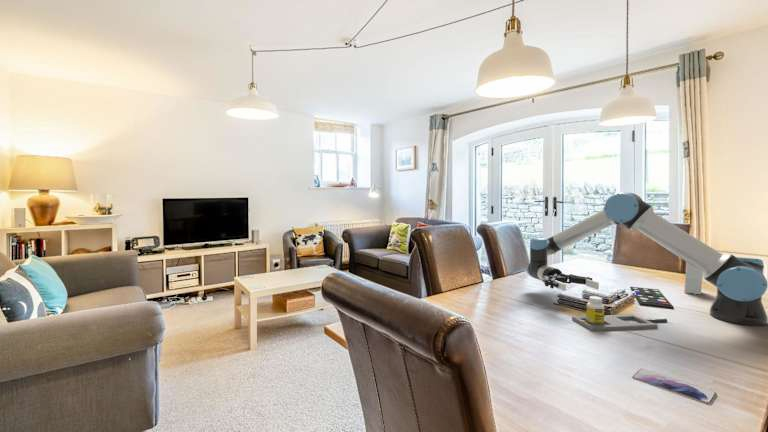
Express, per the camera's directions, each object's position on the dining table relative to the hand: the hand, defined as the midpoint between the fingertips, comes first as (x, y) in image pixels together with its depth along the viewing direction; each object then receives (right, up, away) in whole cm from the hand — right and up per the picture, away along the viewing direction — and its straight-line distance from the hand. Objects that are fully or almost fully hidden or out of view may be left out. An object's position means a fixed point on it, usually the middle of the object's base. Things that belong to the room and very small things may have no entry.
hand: (581, 286), depth 137 cm
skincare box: (+69, -9, +30) cm, 76 cm away
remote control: (+43, -10, +22) cm, 49 cm away
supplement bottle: (-1, -12, -11) cm, 16 cm away
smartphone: (-7, -14, -51) cm, 54 cm away
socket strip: (+10, -11, -10) cm, 18 cm away
